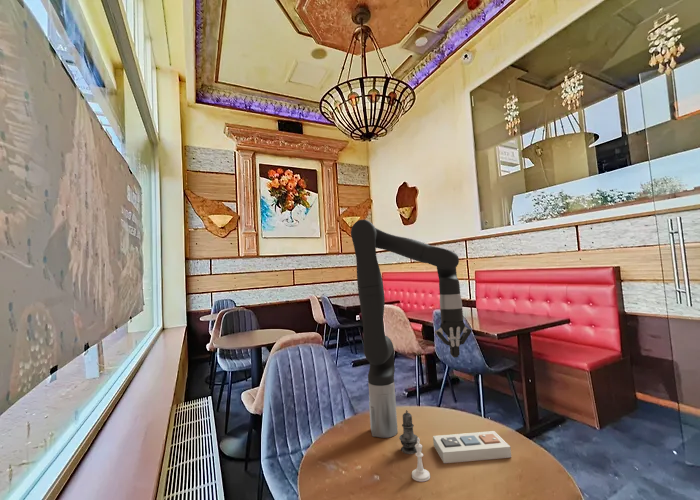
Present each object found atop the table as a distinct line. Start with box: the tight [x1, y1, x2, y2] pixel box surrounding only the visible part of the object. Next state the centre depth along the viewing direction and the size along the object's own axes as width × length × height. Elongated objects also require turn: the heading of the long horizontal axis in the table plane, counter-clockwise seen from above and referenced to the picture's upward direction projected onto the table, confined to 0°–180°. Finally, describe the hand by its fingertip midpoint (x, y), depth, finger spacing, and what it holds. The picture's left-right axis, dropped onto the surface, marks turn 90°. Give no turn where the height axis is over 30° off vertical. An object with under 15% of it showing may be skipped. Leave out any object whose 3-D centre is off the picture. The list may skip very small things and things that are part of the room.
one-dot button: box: [460, 435, 480, 446], centre depth 102 cm, size 4×4×3 cm
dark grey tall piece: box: [399, 410, 419, 455], centre depth 105 cm, size 6×6×12 cm
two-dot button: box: [479, 434, 500, 444], centre depth 102 cm, size 4×4×3 cm
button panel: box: [432, 430, 512, 464], centre depth 102 cm, size 20×10×3 cm, turn 93°
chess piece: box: [411, 437, 431, 482], centre depth 91 cm, size 5×5×10 cm
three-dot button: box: [441, 437, 460, 448], centre depth 101 cm, size 4×4×3 cm
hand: (455, 356), depth 116 cm, fingers closed
